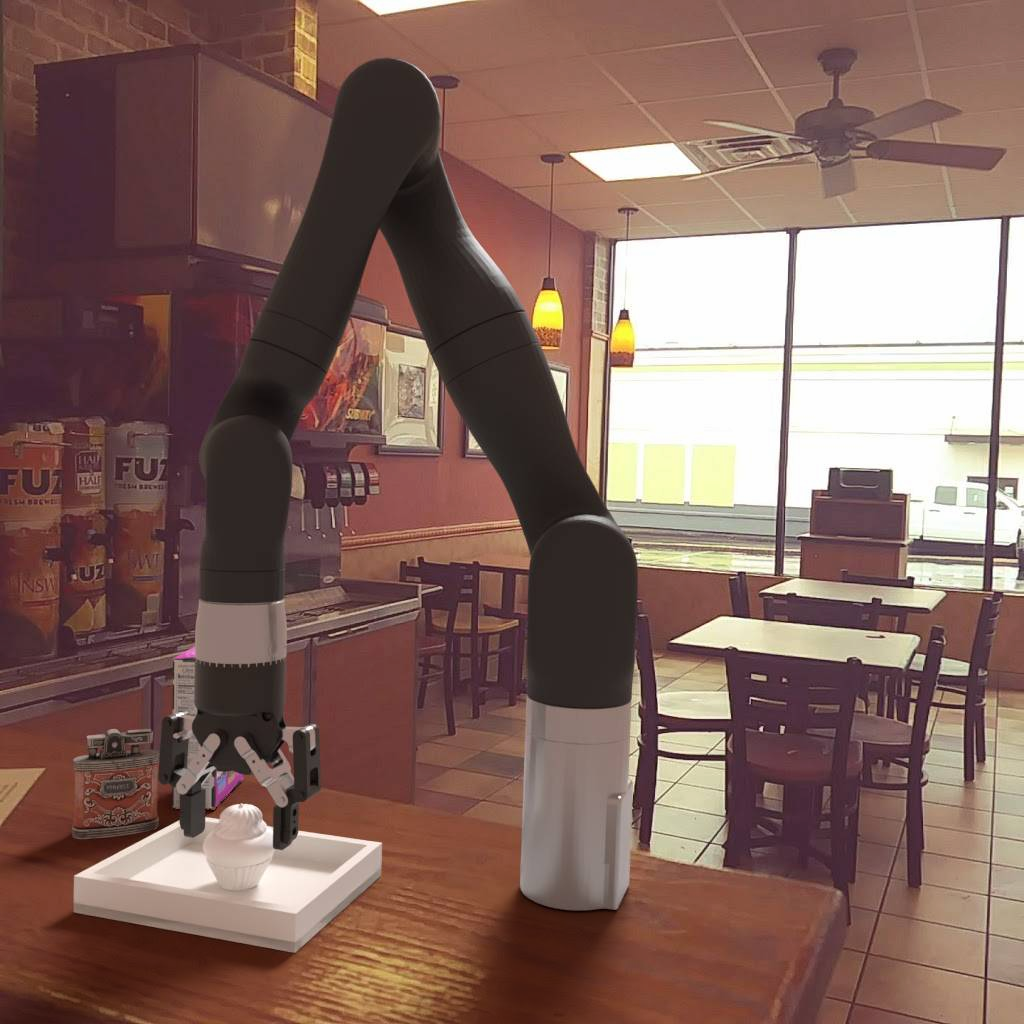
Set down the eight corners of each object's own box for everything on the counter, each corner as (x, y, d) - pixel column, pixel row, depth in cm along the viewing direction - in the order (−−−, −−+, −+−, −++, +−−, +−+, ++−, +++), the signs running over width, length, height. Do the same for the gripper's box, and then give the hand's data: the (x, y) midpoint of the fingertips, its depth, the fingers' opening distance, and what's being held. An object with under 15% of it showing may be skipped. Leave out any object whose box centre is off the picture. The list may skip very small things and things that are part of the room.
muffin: (201, 873, 91) (202, 794, 90) (272, 867, 92) (274, 789, 92) (202, 902, 85) (205, 817, 84) (279, 895, 87) (281, 812, 86)
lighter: (73, 841, 99) (75, 738, 99) (70, 830, 102) (72, 730, 102) (161, 830, 103) (163, 731, 103) (155, 819, 106) (157, 723, 106)
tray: (381, 875, 93) (382, 842, 93) (295, 952, 78) (295, 913, 78) (188, 845, 99) (189, 814, 99) (73, 912, 84) (74, 875, 84)
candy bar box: (201, 779, 120) (204, 638, 120) (244, 780, 120) (247, 640, 119) (167, 810, 109) (170, 655, 108) (214, 812, 109) (218, 657, 108)
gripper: (337, 651, 89) (333, 836, 90) (193, 639, 93) (190, 817, 94) (295, 666, 82) (291, 867, 83) (141, 652, 86) (138, 845, 87)
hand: (237, 840), depth 88 cm, fingers open, 8 cm apart
